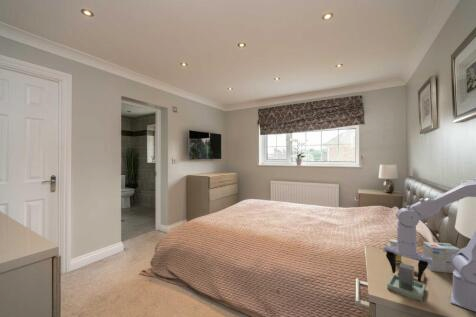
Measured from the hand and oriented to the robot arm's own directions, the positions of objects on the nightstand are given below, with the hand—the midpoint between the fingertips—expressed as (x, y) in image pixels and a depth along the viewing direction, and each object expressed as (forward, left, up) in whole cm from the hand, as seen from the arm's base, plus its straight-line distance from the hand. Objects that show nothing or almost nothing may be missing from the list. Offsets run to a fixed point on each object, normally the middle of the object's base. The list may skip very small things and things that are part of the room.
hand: (406, 276), depth 82 cm
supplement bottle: (+8, -23, -5) cm, 25 cm away
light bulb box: (-8, -29, -5) cm, 31 cm away
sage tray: (0, 0, -5) cm, 5 cm away
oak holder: (0, -12, -5) cm, 13 cm away
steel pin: (0, 0, -4) cm, 4 cm away
